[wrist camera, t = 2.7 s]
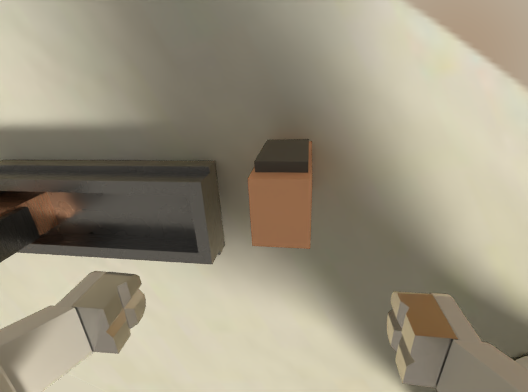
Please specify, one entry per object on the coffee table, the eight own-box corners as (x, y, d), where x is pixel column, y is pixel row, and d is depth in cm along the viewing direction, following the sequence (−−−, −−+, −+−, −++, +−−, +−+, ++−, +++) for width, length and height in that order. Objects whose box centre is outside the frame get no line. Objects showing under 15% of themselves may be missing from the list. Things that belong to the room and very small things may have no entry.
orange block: (310, 191, 23) (310, 248, 15) (270, 190, 23) (252, 245, 16) (311, 133, 21) (312, 167, 14) (268, 133, 21) (246, 167, 14)
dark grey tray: (215, 160, 23) (157, 216, 14) (224, 244, 26) (182, 331, 17) (3, 160, 26) (-150, 205, 17) (35, 235, 29) (-80, 305, 20)
